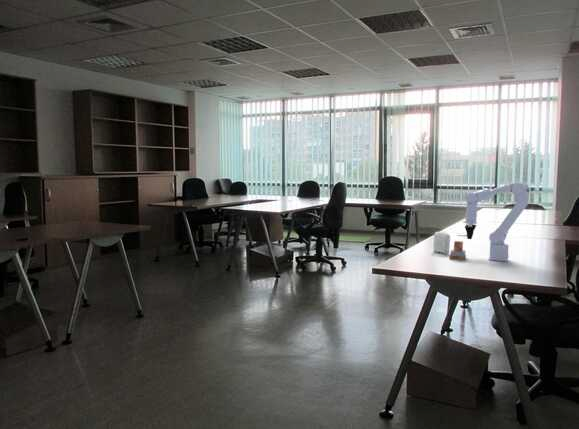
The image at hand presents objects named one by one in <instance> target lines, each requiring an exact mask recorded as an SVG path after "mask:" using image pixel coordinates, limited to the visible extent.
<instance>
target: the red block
mask: <svg viewBox="0 0 579 429" xmlns="http://www.w3.org/2000/svg"><path fill="white" fill-rule="evenodd" d="M453 243H454V244H453V249H454V251H462V250H464V249H463V248H464V241H462V240H455V241H454V242H453Z"/></svg>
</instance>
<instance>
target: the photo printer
mask: <svg viewBox="0 0 579 429" xmlns="http://www.w3.org/2000/svg"><path fill="white" fill-rule="evenodd" d="M450 242H451V236H450V234H449V233H448V232H445V231H436V232H434V234H433V252H436V253H439V252H440V253H441V254H444V253H445V254H444V255H449V254H448V253H450V247H451V246H450ZM446 253H447V254H446Z"/></svg>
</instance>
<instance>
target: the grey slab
mask: <svg viewBox="0 0 579 429" xmlns="http://www.w3.org/2000/svg"><path fill="white" fill-rule="evenodd" d="M450 254H451V256H462V257H464V256H465V254H466V249H463V250H462V251H454V248H453V249H451V250H450Z"/></svg>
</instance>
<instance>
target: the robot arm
mask: <svg viewBox="0 0 579 429" xmlns="http://www.w3.org/2000/svg"><path fill="white" fill-rule="evenodd" d="M530 191H531V190H530V188H529V185H528V184H527V183H526V182H523V181H522V182H516V183H507V184H504V185H501V186H498V187H496V188H492V189H490V188H488V187H487V188H485V187H483V188H482V189H480V190H474V191H473V192H468V193H467V194H466V196H465V201H466V209H465V210H466V211H465V220H464V221H462V223H464V224H465V225H464V228H465V231H466V232H465V233H466V238H467V240H472V239H473V235H474V231H475V229H476V227H477V216H478V202H481V201H485V200H489V199H491V198H492V197H493V196H494V195H498V194H502V193H507V192H508V193H512V194H513V195H514V196H515V198H516V203H515V204H514V206H513V207H512V208H511V210H510V212H508V214H507V215H506V216H505V218H504V220H503V221H502V222H501V224H500V225H499V226H498V227H497V228H496V229H495V230H494V231H492V232H491V233H490V234H489V237H488V238H489V241H490V243H489V256H488V261H495V262H496V261H498V262H499V261H500V262H508V260H509V257H510V256H509V243H508V244H506V242H505V240H506V239H507V234H508V233H509V230H510V229H511V228H512V226H513V225H514V224H515V222H516V221H517V220H518V218H519V217H520V216H521V214H522V213H523V211H524V210H525V209H526V207H527V206H528V205H529V202H530V200H529V199H530Z"/></svg>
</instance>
